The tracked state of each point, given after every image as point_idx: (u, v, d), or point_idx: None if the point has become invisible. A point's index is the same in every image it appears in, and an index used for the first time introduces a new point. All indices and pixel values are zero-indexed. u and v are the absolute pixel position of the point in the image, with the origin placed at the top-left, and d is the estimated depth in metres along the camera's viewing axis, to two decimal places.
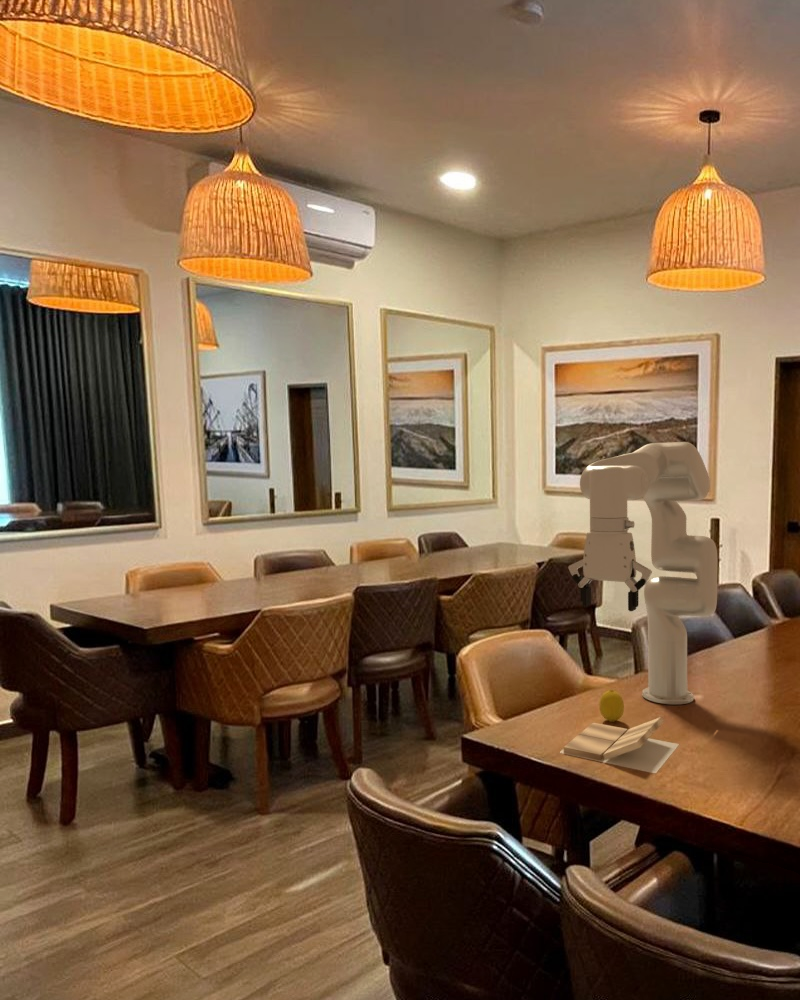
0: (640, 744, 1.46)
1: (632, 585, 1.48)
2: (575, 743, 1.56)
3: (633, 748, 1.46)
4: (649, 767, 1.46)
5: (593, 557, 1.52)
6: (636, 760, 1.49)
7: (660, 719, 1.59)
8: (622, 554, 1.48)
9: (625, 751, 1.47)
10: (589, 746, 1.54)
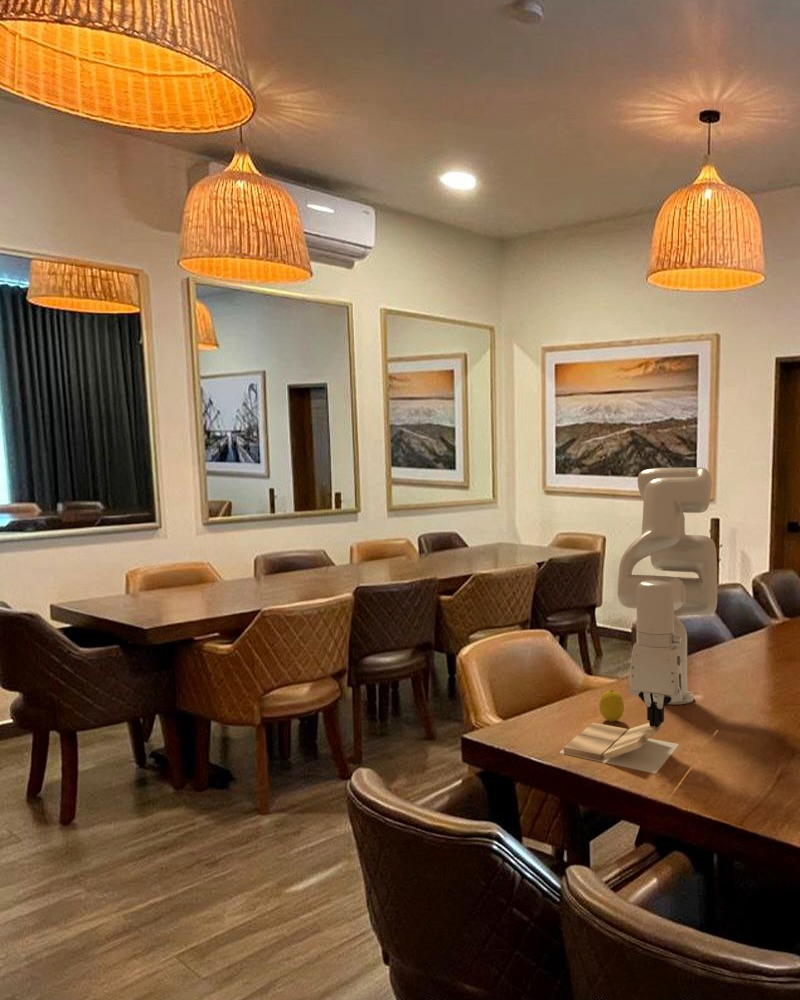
0: (640, 744, 1.46)
1: (658, 702, 1.54)
2: (575, 743, 1.56)
3: (633, 748, 1.46)
4: (649, 767, 1.46)
5: (640, 670, 1.55)
6: (636, 760, 1.49)
7: None
8: (670, 670, 1.52)
9: (625, 751, 1.47)
10: (589, 746, 1.54)
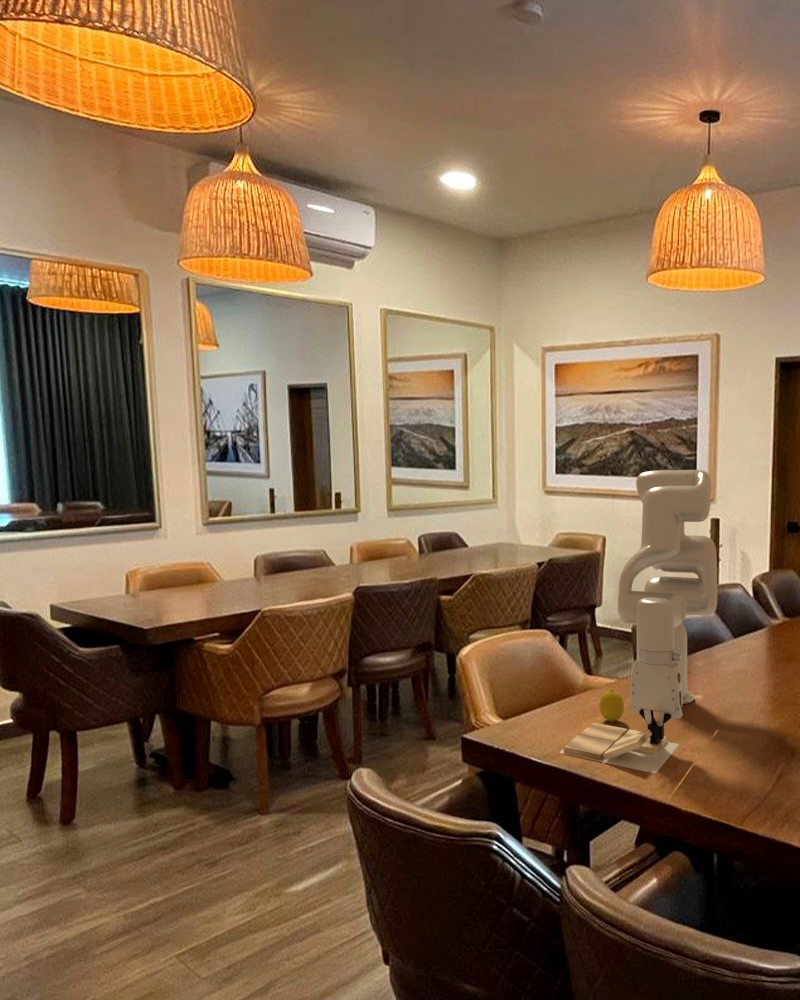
0: (640, 744, 1.46)
1: (658, 719, 1.54)
2: (575, 743, 1.56)
3: (633, 748, 1.46)
4: (649, 767, 1.46)
5: (640, 687, 1.55)
6: (636, 760, 1.49)
7: (665, 739, 1.58)
8: (670, 687, 1.52)
9: (625, 751, 1.47)
10: (589, 746, 1.54)
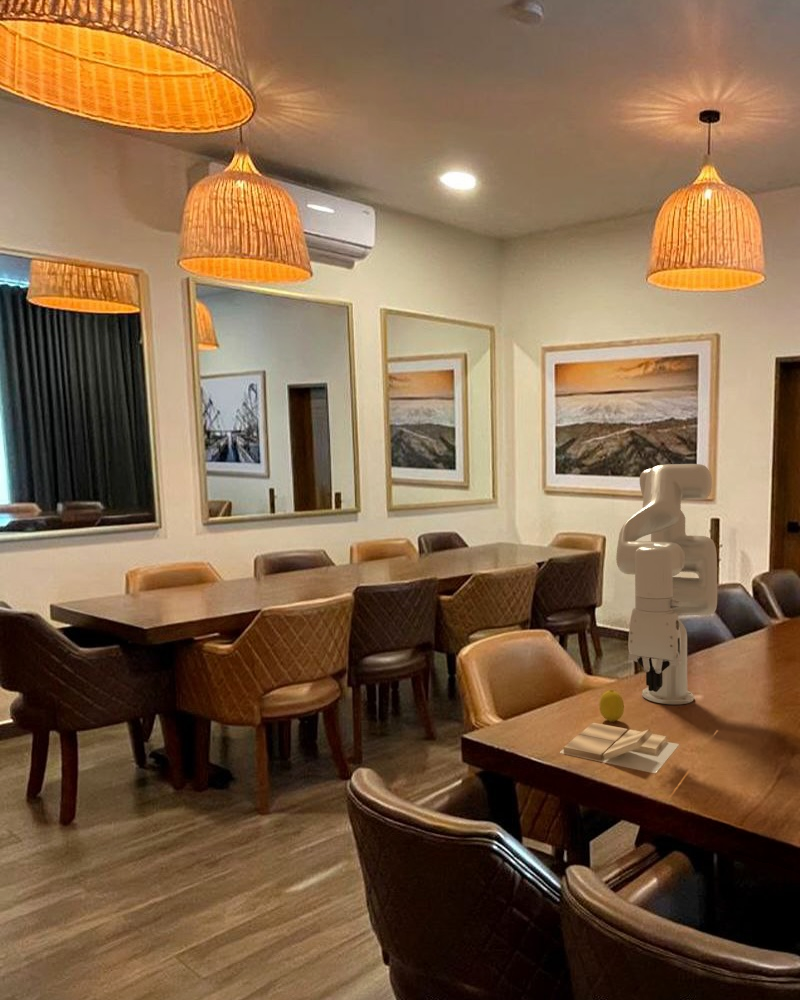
0: (640, 744, 1.46)
1: (657, 667, 1.54)
2: (575, 743, 1.56)
3: (633, 748, 1.46)
4: (649, 767, 1.46)
5: (639, 635, 1.55)
6: (636, 760, 1.49)
7: (665, 739, 1.58)
8: (668, 634, 1.51)
9: (625, 751, 1.47)
10: (589, 746, 1.54)
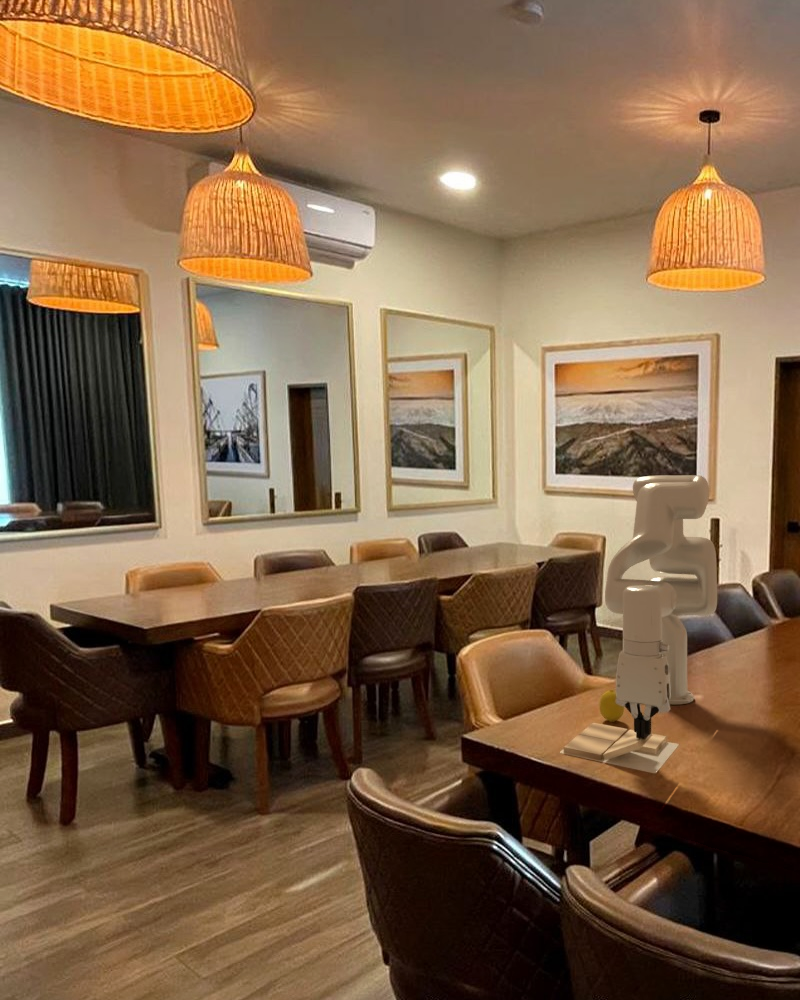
0: (640, 745, 1.46)
1: (645, 713, 1.47)
2: (575, 743, 1.56)
3: (633, 749, 1.46)
4: (649, 767, 1.46)
5: (626, 679, 1.48)
6: (636, 760, 1.49)
7: (665, 739, 1.58)
8: (657, 679, 1.44)
9: (625, 752, 1.47)
10: (589, 746, 1.54)
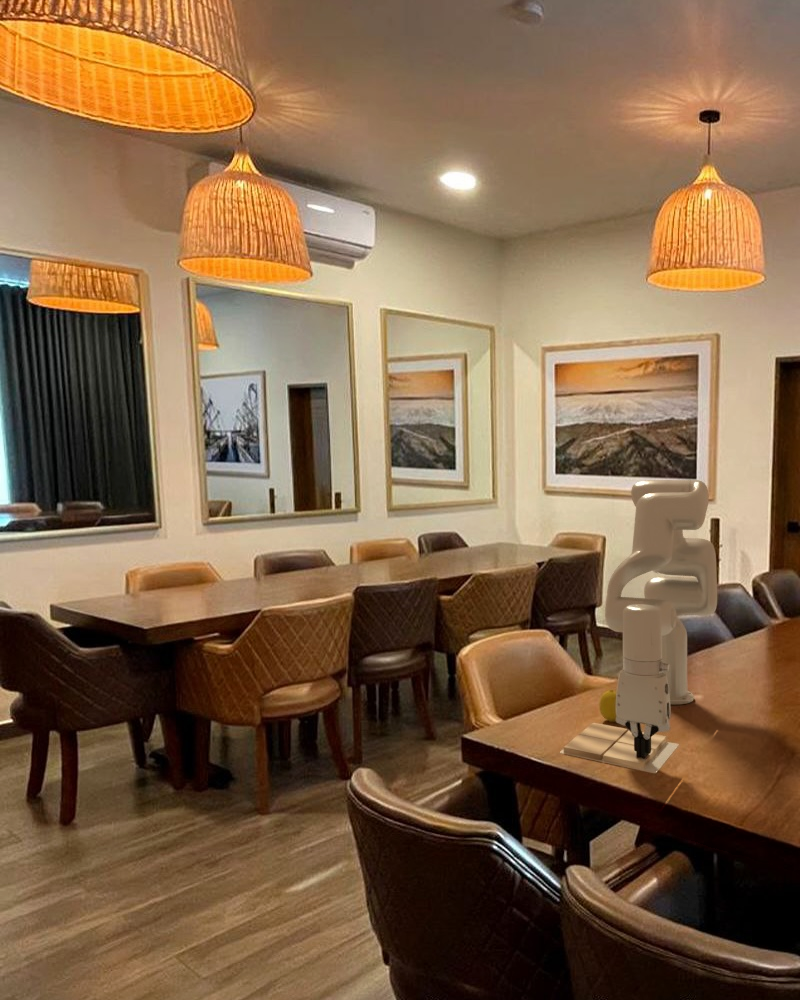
0: (644, 766, 1.46)
1: (645, 732, 1.47)
2: (575, 743, 1.56)
3: (635, 766, 1.46)
4: (649, 767, 1.46)
5: (626, 698, 1.48)
6: None
7: (665, 739, 1.58)
8: (657, 699, 1.44)
9: (626, 764, 1.47)
10: (589, 746, 1.54)
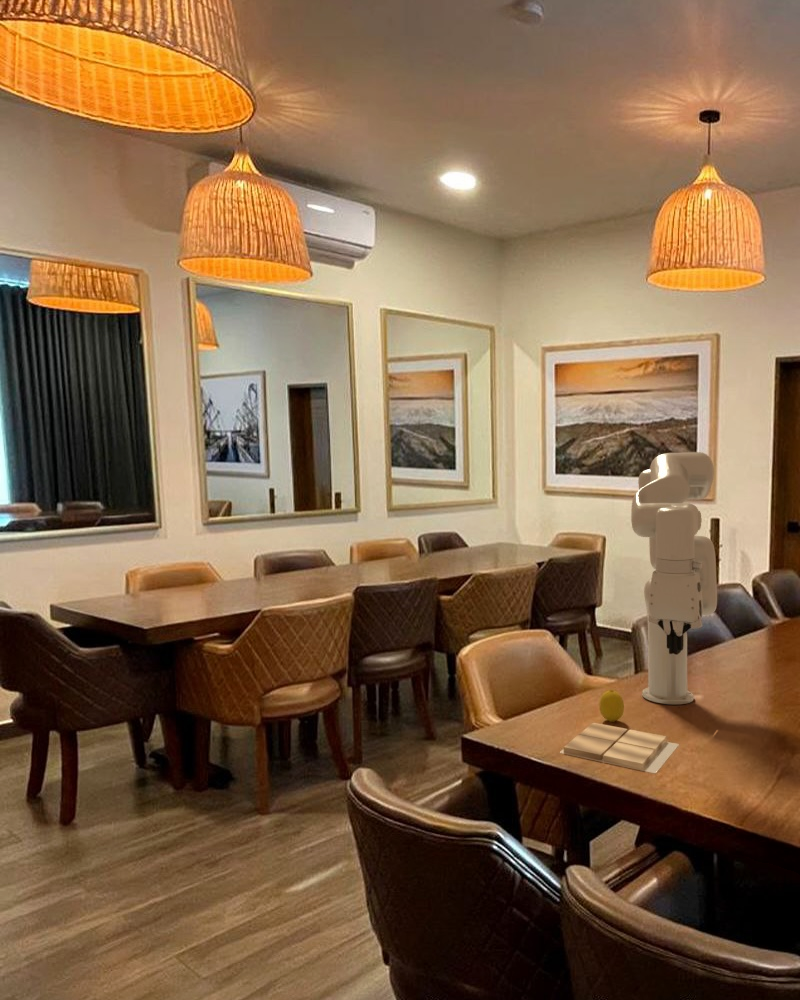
0: (644, 766, 1.46)
1: (677, 629, 1.52)
2: (575, 743, 1.56)
3: (635, 766, 1.46)
4: (649, 767, 1.46)
5: (659, 597, 1.52)
6: None
7: (665, 739, 1.58)
8: (689, 596, 1.49)
9: (626, 764, 1.47)
10: (589, 746, 1.54)
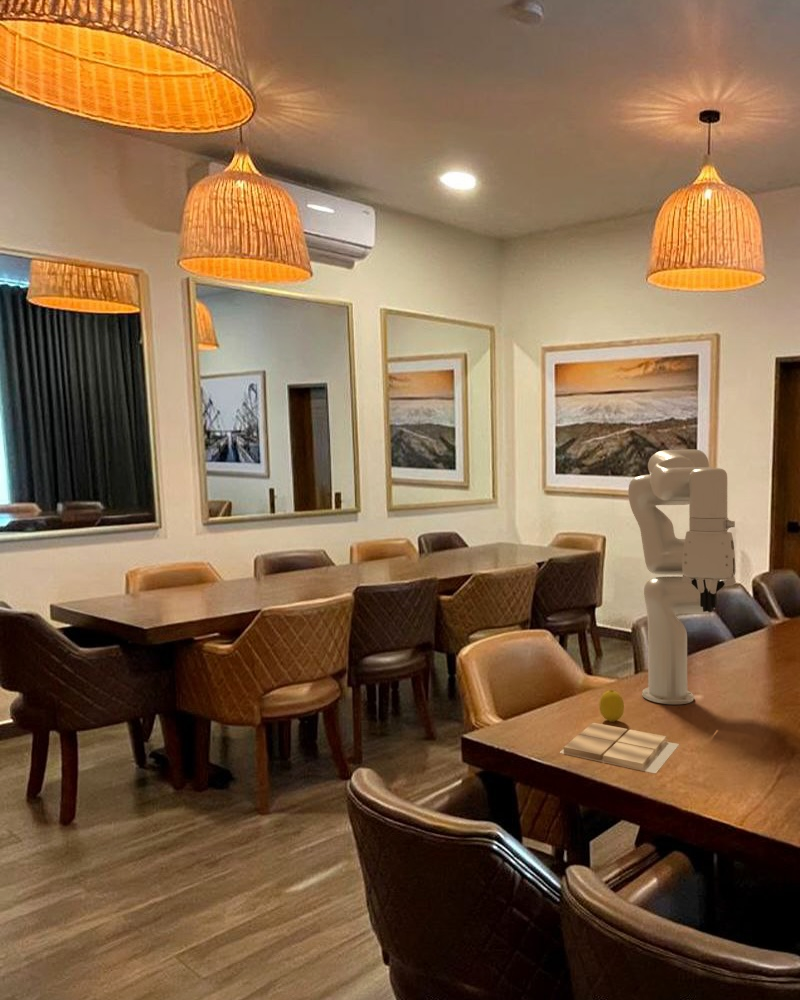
0: (644, 766, 1.46)
1: (711, 587, 1.56)
2: (575, 743, 1.56)
3: (635, 766, 1.46)
4: (649, 767, 1.46)
5: (693, 556, 1.56)
6: None
7: (665, 739, 1.58)
8: (724, 553, 1.53)
9: (626, 764, 1.47)
10: (589, 746, 1.54)
